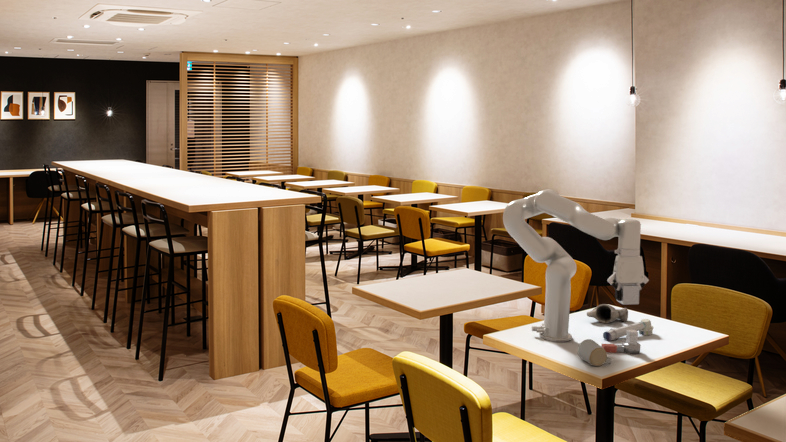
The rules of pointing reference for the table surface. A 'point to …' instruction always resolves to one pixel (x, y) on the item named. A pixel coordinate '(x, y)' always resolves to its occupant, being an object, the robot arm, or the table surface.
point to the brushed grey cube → (629, 294)
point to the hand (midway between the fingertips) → (627, 299)
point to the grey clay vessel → (608, 313)
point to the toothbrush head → (642, 327)
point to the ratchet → (625, 344)
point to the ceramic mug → (593, 353)
